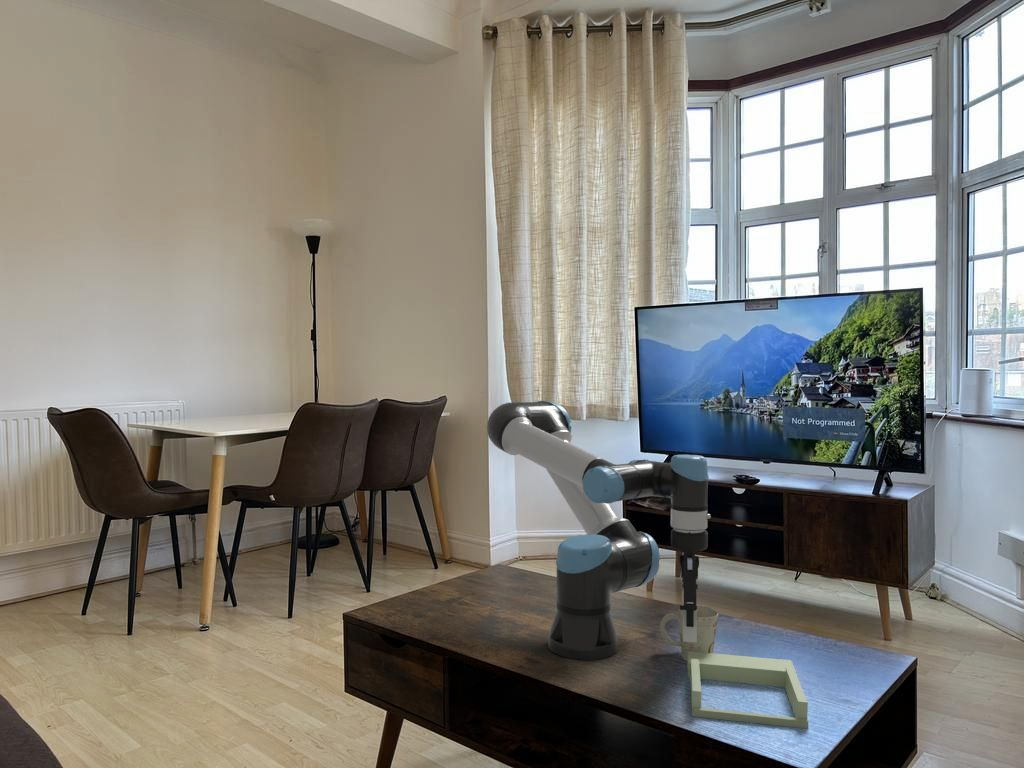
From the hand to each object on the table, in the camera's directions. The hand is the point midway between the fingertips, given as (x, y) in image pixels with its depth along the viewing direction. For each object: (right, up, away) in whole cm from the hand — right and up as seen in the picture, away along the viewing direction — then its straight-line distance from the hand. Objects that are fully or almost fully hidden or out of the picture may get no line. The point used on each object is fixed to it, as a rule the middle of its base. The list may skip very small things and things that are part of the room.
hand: (689, 630), depth 156 cm
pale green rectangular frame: (+6, -6, -18) cm, 20 cm away
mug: (0, -6, 0) cm, 6 cm away
